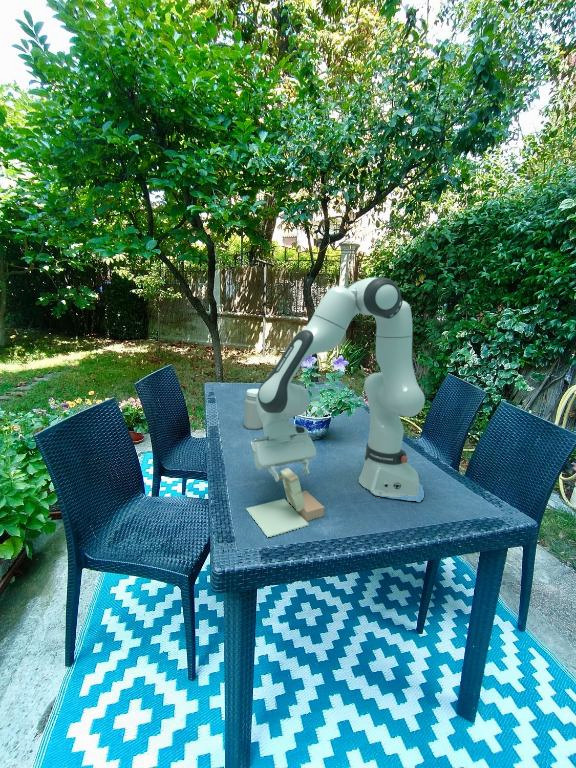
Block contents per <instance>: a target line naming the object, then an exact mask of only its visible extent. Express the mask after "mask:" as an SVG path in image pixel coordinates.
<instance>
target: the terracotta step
mask: <svg viewBox="0 0 576 768" xmlns="http://www.w3.org/2000/svg"><path fill="white" fill-rule="evenodd" d="M301 491H302V496H303V500H304V505H305V508H303V509H302V510H300V511H297V510H296V511H297V512H298V513H299V514H300V515H301V517H302V518H303V519H304V520H305V521H306V522H309V521H312V519H313V520H315V518H316V519H319V518H322V516H323V517H324V513H325V506H324V505H323V504H321V502H319V501H318V500H317V499H316V498H315V497H314V496H313V495H311V494H310V492H308V491H307V490H301ZM291 506H292V505H291ZM318 517H319V518H318Z"/></svg>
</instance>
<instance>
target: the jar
mask: <svg viewBox="0 0 576 768" xmlns="http://www.w3.org/2000/svg"><path fill="white" fill-rule="evenodd" d="M258 391H259V388H249V389H247V390H246V398H244V412H243V413H244V414H243V426H244V428H246V429H247V430H254V431H255V430H256V431H257V430H260V429H263V423H262V421H261V420H260V418H259V414H258V411H257V406H256V395H257V393H258Z"/></svg>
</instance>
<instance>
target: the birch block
mask: <svg viewBox="0 0 576 768" xmlns="http://www.w3.org/2000/svg"><path fill="white" fill-rule="evenodd" d="M280 474H281V477H282V480H281V481H282V483H283V487H284V491H285V496H286V499H287V500H286V501H287V502H288V503H290V504H291V505H292V506H293V507H294V508H295V509H296V510H297V511H300V510H302V509H303V508H305V505H304V500H303V496H302V491H303V490H302V488H301V482H300V478H299V476H298V475H297V474H296V473H295V472H293V471H292V470H291V469H290V468H289V467H286V468H284V469H282V470H280Z"/></svg>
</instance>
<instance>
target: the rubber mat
mask: <svg viewBox="0 0 576 768" xmlns="http://www.w3.org/2000/svg"><path fill="white" fill-rule="evenodd" d="M245 510H247V511H248V512H249V514H250V515H251V516H252V518H253V519H254V520H255V522H256V523H257V524H258V526H259V527H260V528H261V529H262V531H263V532H264V534H265V535H266V536H267V538H268V537H272V536H275V537H277V536H276V535H278V536H280V535H279V534H281V535H284V534H286V532H288V533H290V532H289V531H291V532H293V531H292V530H294V531H297V530H300V529H303V527H304V528H307V527H309V526H310V525H309V524H310V523H309V522H308V521H306V520H305V519H304V518H303V517H302V516H301V515H300V514H299V513H298V512H297V511H296V510H295V509H294V508H293V507H292V506H291V505H290V504H289V502H288V500H286V499H285V498H282V499H278V500H274V501H269V502H266V503H262V504H261V503H260V504H258V505H254V506H250V507H246V508H245ZM247 511H246V512H247ZM248 512H247V513H248ZM249 514H248V515H249ZM250 515H249V516H250ZM251 516H250V517H251ZM252 518H251V519H252ZM253 519H252V520H253ZM254 520H253V521H254ZM255 522H254V523H255ZM256 523H255V524H256ZM257 524H256V525H257ZM258 526H257V527H258ZM306 526H307V527H306ZM259 527H258V528H259ZM260 528H259V529H260ZM299 528H300V529H299ZM296 529H297V530H296ZM262 531H261V532H262ZM263 532H262V533H263ZM283 533H284V534H283ZM264 534H263V535H264ZM265 535H264V536H265ZM266 536H265V537H266ZM267 538H266V539H267ZM272 538H273V537H272ZM268 539H269V538H268Z"/></svg>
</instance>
